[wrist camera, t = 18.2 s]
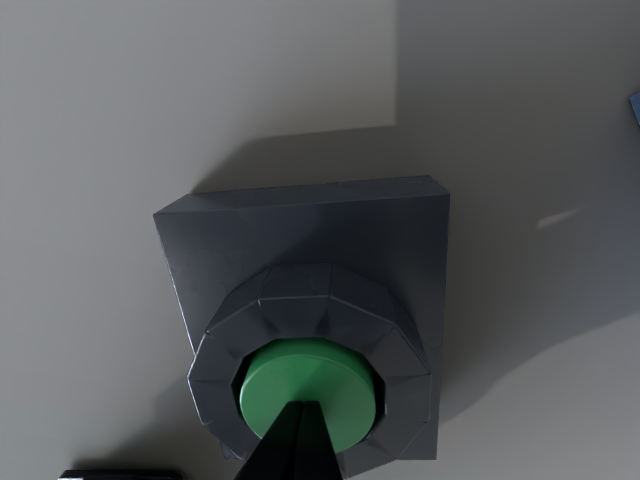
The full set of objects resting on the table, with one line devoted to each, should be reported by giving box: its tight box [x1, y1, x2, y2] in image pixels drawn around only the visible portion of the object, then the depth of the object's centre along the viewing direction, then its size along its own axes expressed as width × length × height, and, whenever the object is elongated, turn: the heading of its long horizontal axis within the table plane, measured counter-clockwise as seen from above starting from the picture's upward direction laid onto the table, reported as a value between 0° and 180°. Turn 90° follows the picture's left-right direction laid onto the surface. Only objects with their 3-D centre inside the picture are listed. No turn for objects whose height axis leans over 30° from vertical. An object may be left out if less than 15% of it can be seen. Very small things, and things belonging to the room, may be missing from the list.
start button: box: [240, 337, 376, 453], centre depth 10 cm, size 4×4×2 cm
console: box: [153, 175, 450, 479], centre depth 11 cm, size 10×8×4 cm
